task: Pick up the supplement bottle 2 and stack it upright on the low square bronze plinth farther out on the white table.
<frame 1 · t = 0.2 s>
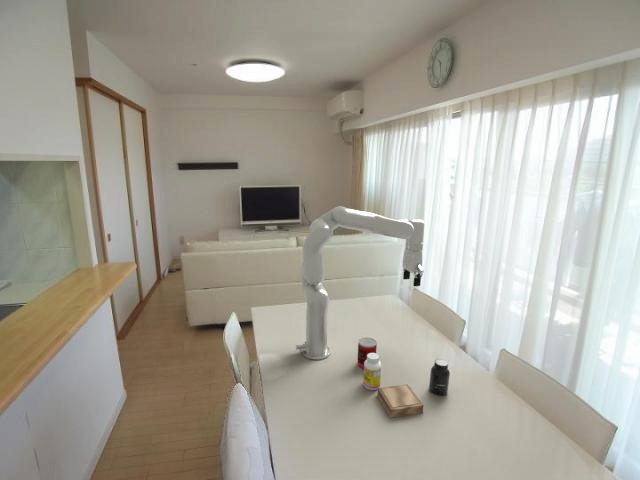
hand: (411, 282, 161), 31 cm above the table, fingers open, 9 cm apart
supplement bottle: (438, 391, 133), on the table
canned food: (366, 365, 150), on the table
supplement bottle 2: (371, 386, 136), on the table
bronze plinth: (399, 403, 125), on the table
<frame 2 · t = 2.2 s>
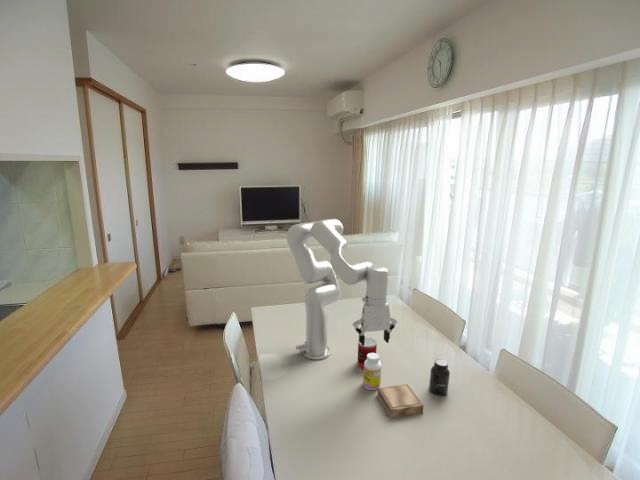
hand: (374, 342, 132), 18 cm above the table, fingers open, 9 cm apart
nothing on the table moved.
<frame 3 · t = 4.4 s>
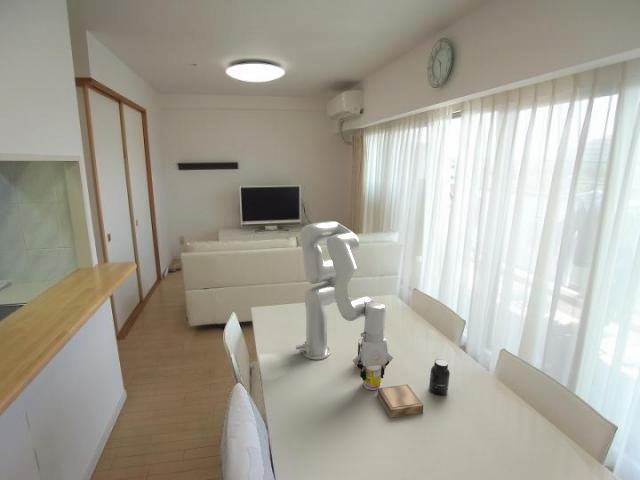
hand: (372, 377, 135), 4 cm above the table, fingers closed on supplement bottle 2, 6 cm apart
supplement bottle 2: (371, 386, 135), on the table, touching gripper
everything else where it was.
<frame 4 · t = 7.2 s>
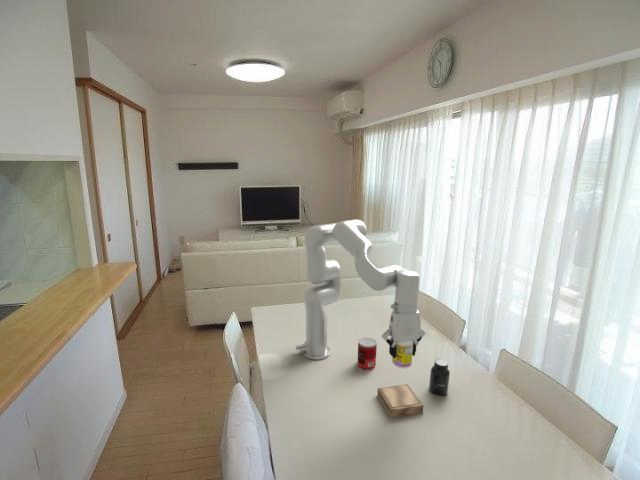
hand: (402, 354, 121), 20 cm above the table, fingers closed on supplement bottle 2, 6 cm apart
supplement bottle 2: (401, 364, 122), point 16 cm above the table, touching gripper
everything else where it was.
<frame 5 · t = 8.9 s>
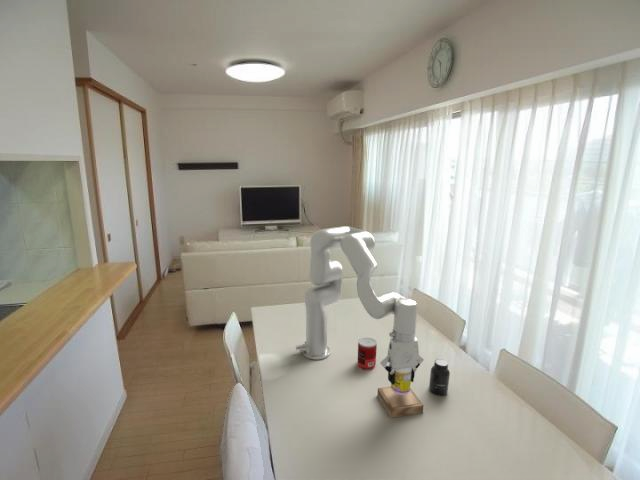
hand: (400, 380, 123), 9 cm above the table, fingers closed on supplement bottle 2, 6 cm apart
supplement bottle 2: (400, 390, 124), point 6 cm above the table, touching gripper
everything else where it was.
when the fingers open (7 cm above the table, at t = 10.3 s): supplement bottle 2 stays where it is, resting on bronze plinth.
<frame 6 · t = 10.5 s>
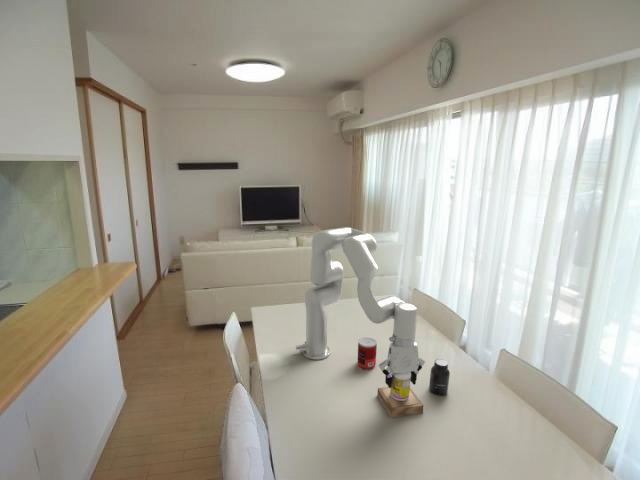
hand: (400, 383, 124), 8 cm above the table, fingers open, 8 cm apart
supplement bottle 2: (399, 396, 125), point 3 cm above the table, touching bronze plinth
everything else where it was.
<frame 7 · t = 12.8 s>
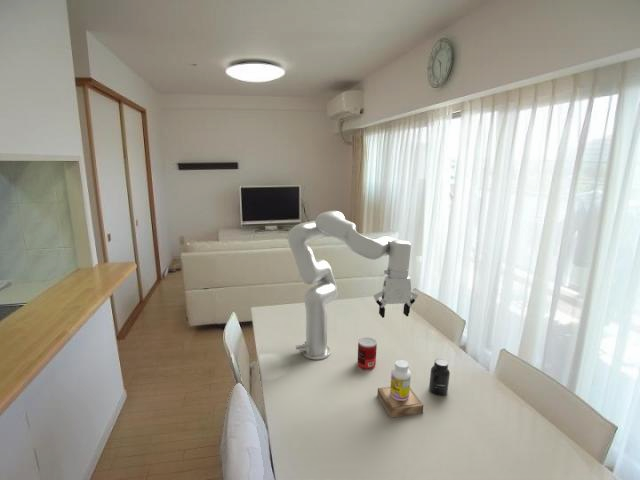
hand: (393, 315, 133), 28 cm above the table, fingers open, 9 cm apart
nothing on the table moved.
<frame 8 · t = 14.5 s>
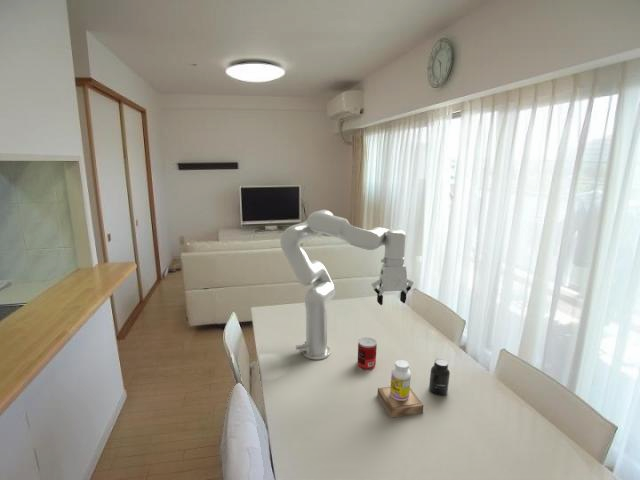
hand: (391, 302, 139), 30 cm above the table, fingers open, 9 cm apart
nothing on the table moved.
at the end: supplement bottle 2 inside the target area on the bronze plinth (0.2 cm from its centre), point 3.0 cm above the bronze plinth's base; supplement bottle 2 tilted 0°; the gripper is holding nothing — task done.
